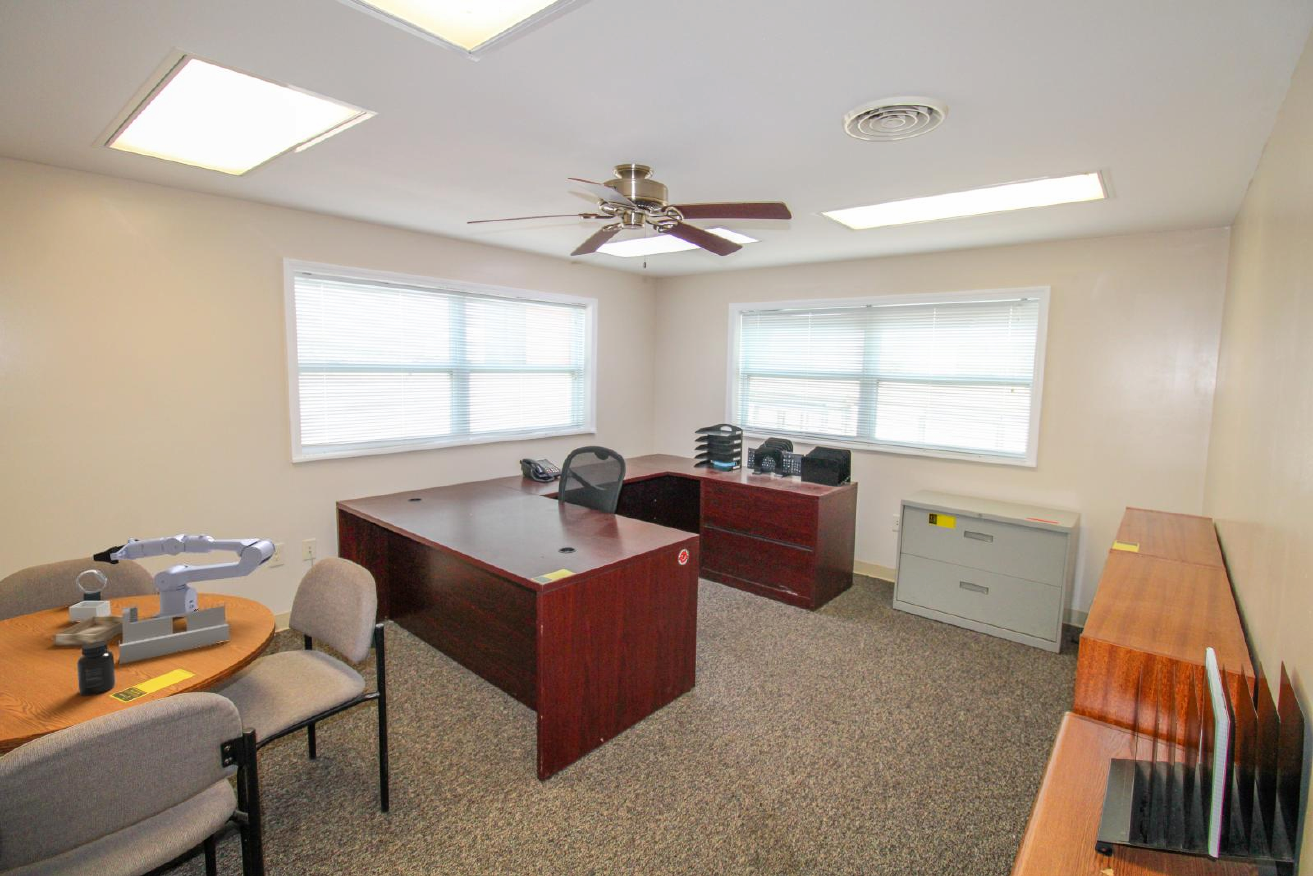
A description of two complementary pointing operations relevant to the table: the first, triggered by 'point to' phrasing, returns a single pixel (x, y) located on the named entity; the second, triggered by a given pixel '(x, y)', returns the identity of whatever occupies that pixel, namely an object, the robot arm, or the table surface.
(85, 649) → the supplement bottle
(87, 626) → the shallow wooden tray
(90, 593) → the watch
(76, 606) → the small crate
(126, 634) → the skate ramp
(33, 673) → the table surface
